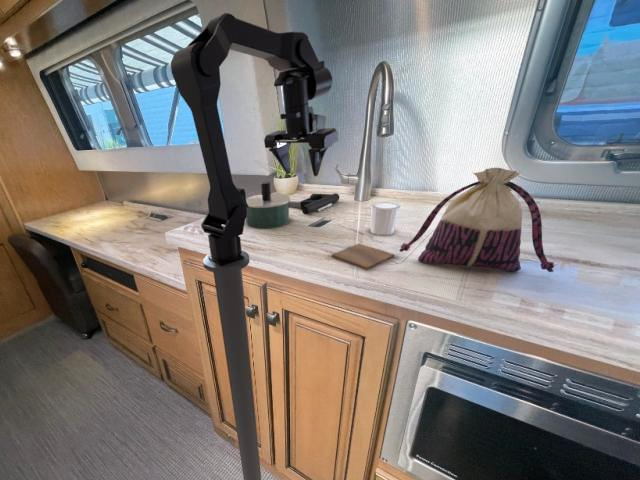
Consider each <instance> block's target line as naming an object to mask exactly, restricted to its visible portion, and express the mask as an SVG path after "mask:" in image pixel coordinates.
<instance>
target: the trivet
mask: <svg viewBox="0 0 640 480" xmlns="http://www.w3.org/2000/svg"><path fill="white" fill-rule="evenodd" d="M395 256H396V255H395V254H394V253H391V252H388V251H384V250H382V249H379V248H374V247H371V246H368V245H365V244H361V243H357V244H355V245H351V246H349V247H348V248H345V249H342V250H339V251H337V252H335V253H332V254H331V258H334V259H336V260H339V261H342V262H343V263H344V262H345V263H347V264H349V265H353V266H355V267H358V268H360V269H363V270H369V269H371V268H374V267H376V266H377V265H381V264H382V263H384V262H386V261H388V260H391V259H393V258H395Z"/></svg>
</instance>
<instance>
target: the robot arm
mask: <svg viewBox="0 0 640 480" xmlns="http://www.w3.org/2000/svg"><path fill="white" fill-rule="evenodd" d="M230 50H231V51H235V52H238V53H242V54H245V55H249V56H252V57H256V58H260V59H262V60H265V61H266V62H267V63H268V65H269V66H270V67H271V68H273V69H274V70H276V71H278V72H279V73H278V76H277V78H276V79H275V81H274V83H273V86H274V88H277V87H280V89H281V97H282V107H283V113H281V114H279V115H280V120H284V126H285V129H284V130H276V131H274V132H271V133H269V134H266V135H265V137H264V140H263V142H264V148H265V149H268V151H269V152H271V153H272V155H273V156H274V157H275V159H276V160H277V162H278V163H279V165H280V166H281V168H282V169H283V171H284V172H285V174H286V175H289V174H290V173H291V160H290V148H291V145H292V144H308V146H309V147H310V149H308V150H307V151H308V155H309V160H310V166H311V170H312V173H313V174H312V175H313V176H314V177H318V176H319V173H320V170H321V166H322V162H323V159H324V157H325V154H326V152H327V150H328V149H329V148H330V147H332V146H333V145H334V144H335V143H337V142H339V132H338V131H337V129H336V127H335V128H334V127H327V128H325V126H326V120H327V116H326V115H320V114H316V113H314V108H313V106H310V105H309V103H310V102H309V101H311V100H314V99H317V98H319V97H322V96H325V95H327V94H328V93H329V92H330V90H331V88H332V86H333V76H332V72H330V69H329V68H328V67H326V66H325V60H319V59H318V57H317V54H316V52H315V50H314V48H313V46H312V44H311V42H310V40H309V36H308V35H307V33H305V32H304V31H285V32H276V31H273V30H270V29H268V28H266V27H262V26H259V25H256V24H253V23H251V22H249V21H245V20H243V19H240V18H237V17H235V16H234V14H232V13H229V12H224V13H221V14H220V15H217V16H215V17H214V18H212V19H210V20H209V21H208V23H207V25H206V26H205V27H204V28H203V30H202V31H200V33H199V34H198V35H197V36H196V37H195V38H193V39H192V41H190V42H189V44H188V45H187V46H185V47H183V48H181V49H178V50H176V52H174V54H173V56H172V59H171V61H170V70H171V75H172V78H173V80H174V83H175V85H176V88H177V90H178V92H179V95H180V96H181V97H182V99H183V101H184V102H185V103H186V105H187V106H188V108H189V109H190V112H191V114H192V115H191V116H192V119H193V122H194V126H195V131H196V134H197V139H198V143H199V147H200V152H201V155H202V159H203V164H204V167H205V171H206V175H207V180H208V183H209V192H208V196H207V207H208V212H207V213H206V215H205V217H204V218H203V221H202V222H201V225H200V227H201V229H202V231H203V233H205V234H208V235H207V238H208V245H209V252H210V253H211V255H210V256H208V259H210V260H212V261H213V262H215V263H217V264H218V265H220V266H224V265H227V264H229V263H232V262H235V261H238V260H241V259H244V256H243V255H241V253H242V251H243V250H242V242H241V241H242V240H241V236H242V235H243V234H244V229H245V224H246V217H247V208H248V207H249V206H248V204H247V202H246V198H247V196H246V191H245V189H244V188H241V187H237V186H236V184H235V183H234V180H233V176H232V172H231V171H232V170H231V167H230V162H229V161H230V160H229V156H228V151H227V147H226V142H225V137H224V132H223V127H222V122H221V117H220V112H219V108H218V101H219V96H220V95H219V94H220V90H221V84H222V83H221V71H220V70H221V69H220V67H221V66H222V64H223V63H224V62H225V60H226V59H227V58H228V56H229V52H230ZM246 207H247V208H246ZM241 250H242V251H241ZM210 253H209V254H210Z"/></svg>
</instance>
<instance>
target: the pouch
mask: <svg viewBox="0 0 640 480" xmlns="http://www.w3.org/2000/svg"><path fill="white" fill-rule="evenodd" d="M473 175H474V176H475V177H476V179H477V181H474V182H473V183H470V184H468V185H466V186H463V187H461V188H459V189H457V190H455V191H454V192H452V193H450V194H449V195H448V196H446V197H445V198H444V199H442V200H441V201H440V202H439V203H438V204H437V205H436V206H435V207H434V208H433V209H432V210H431V212H430V214H429V215H428V216H427V217H426V219H425V221H424V222H423V223H422V225H421V226H420V229H419V230H418V232H417V233H416V234H415V235H414V237H413V238H412V239H411V240H410V241H409V242H407V243H406V242H403V243H402V244H401V245H400V249H398V251H399V252H400V253H403V252H404V251H405V252H408V251H409V250H410V249H411V246H412V245H414V244H415V243H416V242H417V241H419V240H420V238H421V237H422V236H423V235H424V234H425V233H426V232H427V230H428V229H429V228H430V226H431V225H432V223H433V221H434V220H435V218H436V217H437V215H438V213H439V212H440V211H441V210H442V208H443V207H444V206H446V204H447V203H448V202H449V201H450V200H451V199H453V198H454V197H455V198H454V199H453V200H452V201H451V202H449V204H448V206H447V207H446V209H445V211H444V213H443V214H442V216H441V218H440V220H439V221H438V223H437V225H436V226H435V229H434V230H433V233H432V235H431V236H430V238H429V240H428V242H427V244H426V245H425V249H424V250H422V252H421V253H420V255H419V256H418V257H417V261H418V262H420V263H426V264H438V265H439V264H440V265H447V266H448V265H449V266H458V267H459V266H461V267H468V268H469V267H471V268H480V269H488V270H489V269H490V270H499V271H506V272H518V271H520V270H522V267H521V261H520V260H519V259H520V256H521V248H520V247H521V245H522V244H521V243H522V241H521V237H522V228H523V227H522V225H523V205H522V202H521V200H520V199H519V197H518V196H517V195H519V196H520V197H521V198H522V200H523V201H524V203H526V205H527V207H528V210H529V213H530V217H531V237H532V246H533V249H534V252H535V255H536V257H537V259H538V260H539V261H540V268H541V270H546V271H547V272H548V273H553V272H554V268H555V263H554V261H551V260H550V261H548V259H547V257H546V255H545V252H544V245H543V224H542V215H541V212H540V209H539V206H538V204H537V202H536V200H535V199H534V197H532V196H531V194H530V193H529V192H528V191H527V190H525V189H524V188H523V187H522V186H521V185H519V184H516V183H515V182H512V181H511V180H514V179H516V178H517V177H518V176H520V175H521V171H519V172H518V171H517V170H511V169H506V168H502V167H489V168H485V169H484V170H483V171H477V172H473ZM465 190H466V191H465ZM463 191H464V192H463ZM516 193H517V194H516ZM457 195H458V196H457Z"/></svg>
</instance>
